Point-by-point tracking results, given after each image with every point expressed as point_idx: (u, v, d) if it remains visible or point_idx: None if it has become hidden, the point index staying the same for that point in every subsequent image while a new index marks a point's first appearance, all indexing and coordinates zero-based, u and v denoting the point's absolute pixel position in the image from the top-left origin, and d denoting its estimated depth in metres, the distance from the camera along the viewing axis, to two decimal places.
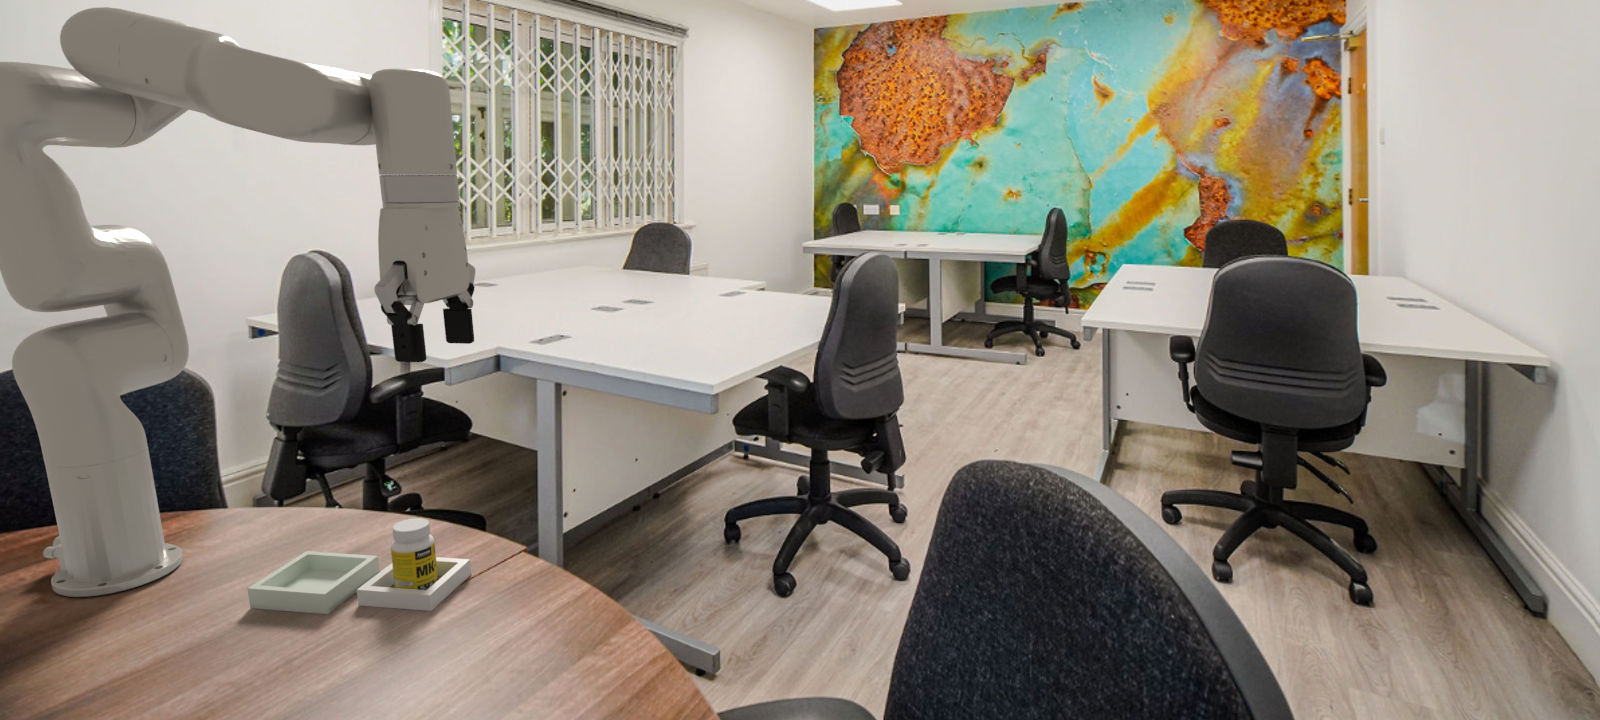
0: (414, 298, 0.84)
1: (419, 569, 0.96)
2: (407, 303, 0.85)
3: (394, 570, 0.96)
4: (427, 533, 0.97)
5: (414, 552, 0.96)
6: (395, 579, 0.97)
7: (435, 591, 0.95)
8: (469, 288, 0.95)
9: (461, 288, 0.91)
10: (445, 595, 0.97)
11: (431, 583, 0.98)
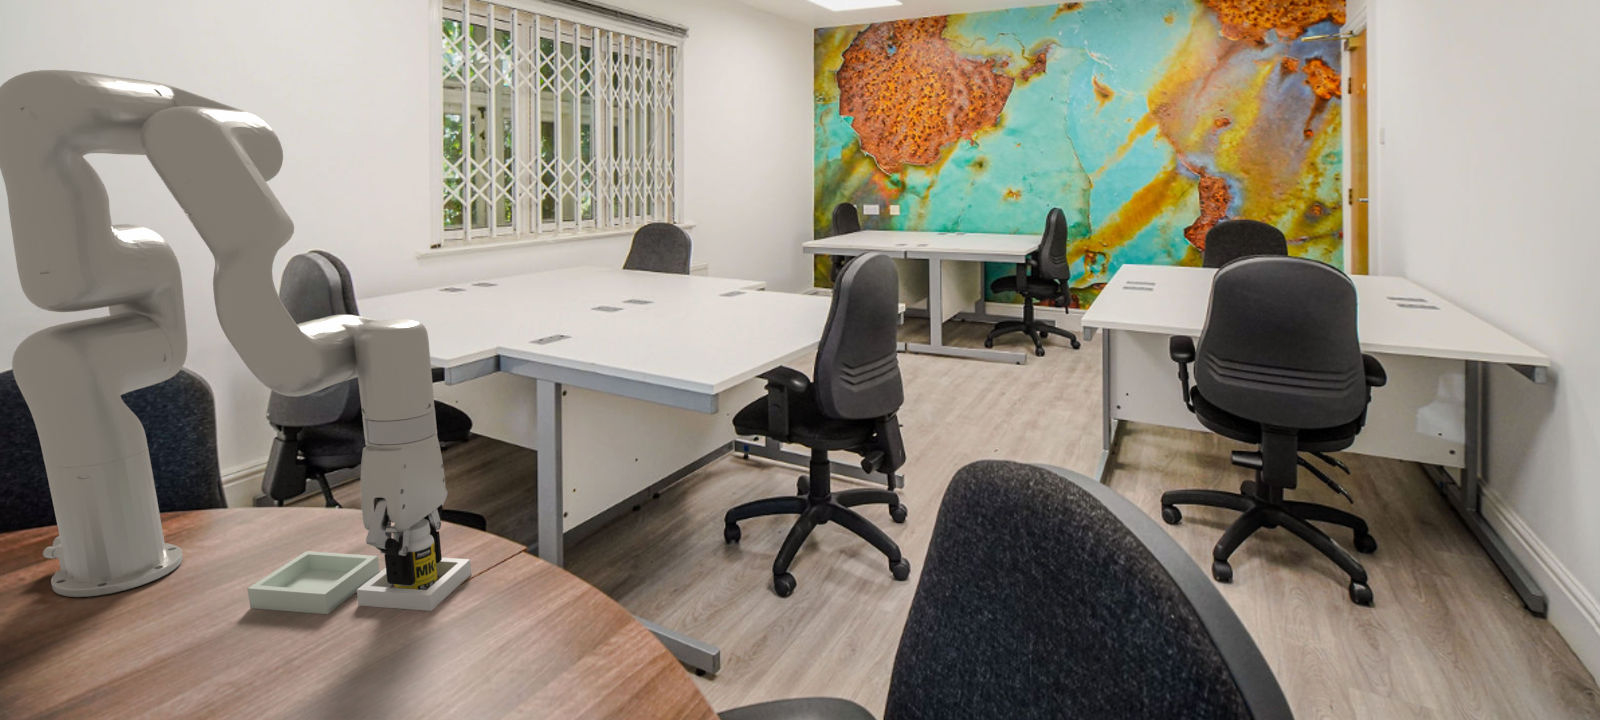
0: (400, 532, 0.93)
1: (418, 569, 0.96)
2: None
3: None
4: (427, 533, 0.97)
5: (414, 552, 0.96)
6: None
7: (435, 591, 0.95)
8: (437, 510, 1.01)
9: (438, 504, 0.99)
10: (445, 595, 0.97)
11: (431, 582, 0.98)
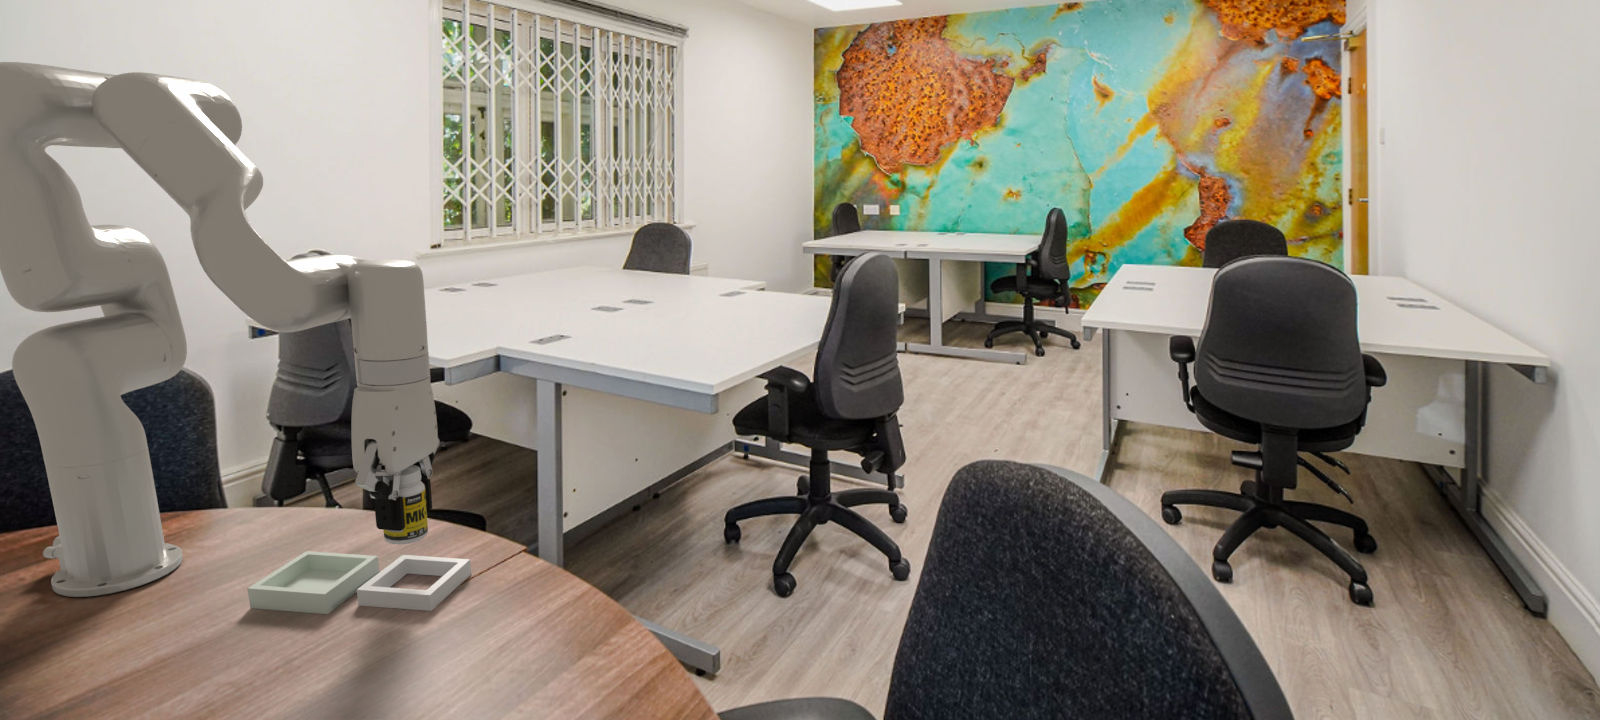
0: (390, 476, 0.92)
1: (408, 515, 0.95)
2: None
3: None
4: (418, 479, 0.95)
5: (404, 498, 0.94)
6: None
7: (435, 591, 0.95)
8: (429, 458, 1.00)
9: (429, 450, 0.97)
10: (445, 595, 0.97)
11: (421, 530, 0.96)
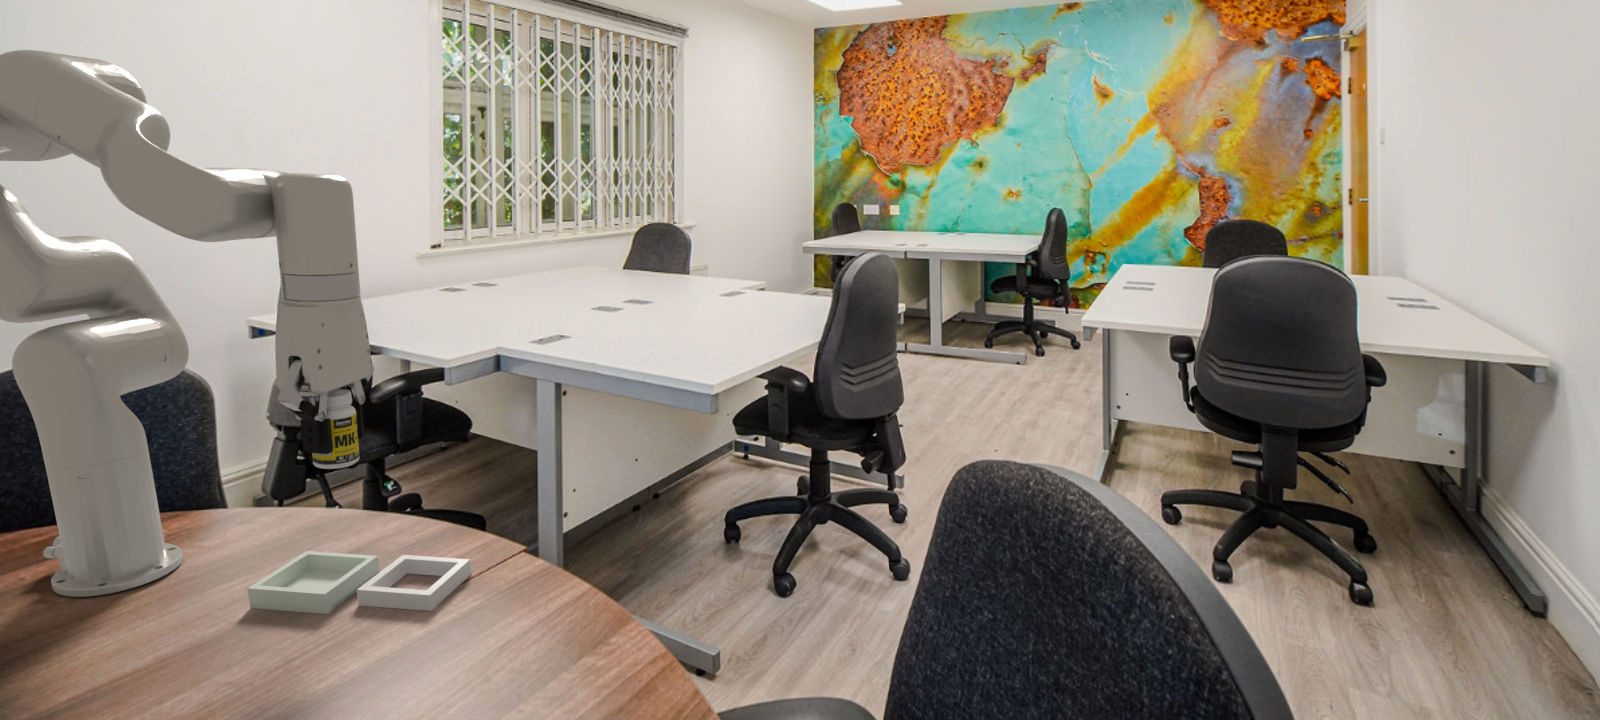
0: (316, 396, 0.89)
1: (337, 438, 0.92)
2: None
3: None
4: (348, 402, 0.93)
5: (333, 420, 0.92)
6: None
7: (435, 591, 0.95)
8: (362, 384, 0.97)
9: (361, 375, 0.95)
10: (445, 595, 0.97)
11: (351, 455, 0.94)
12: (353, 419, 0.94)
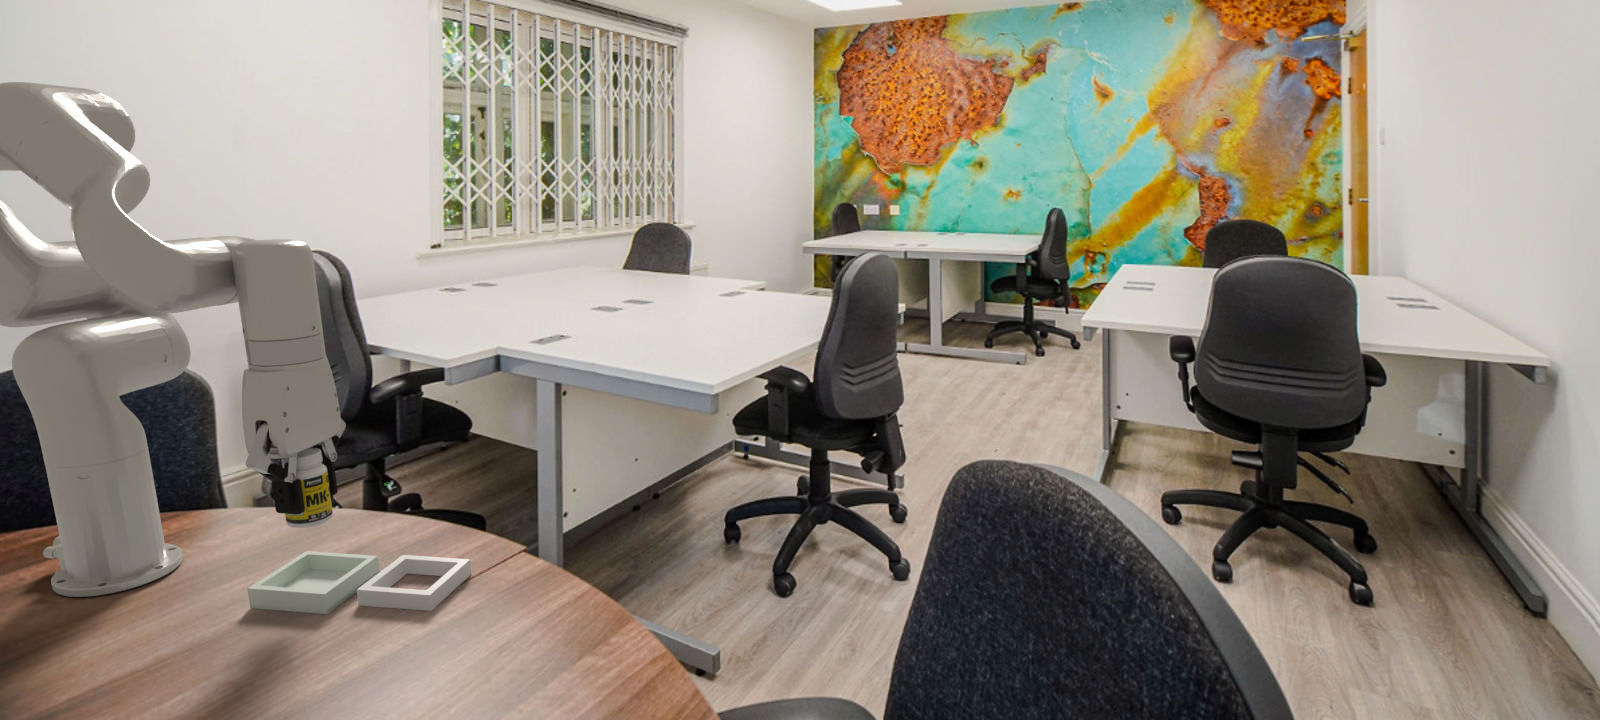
0: (285, 458, 0.91)
1: (308, 497, 0.94)
2: None
3: None
4: (318, 461, 0.94)
5: (303, 480, 0.93)
6: None
7: (435, 591, 0.95)
8: (333, 441, 0.99)
9: (331, 433, 0.96)
10: (445, 595, 0.97)
11: (324, 513, 0.95)
12: (324, 477, 0.95)
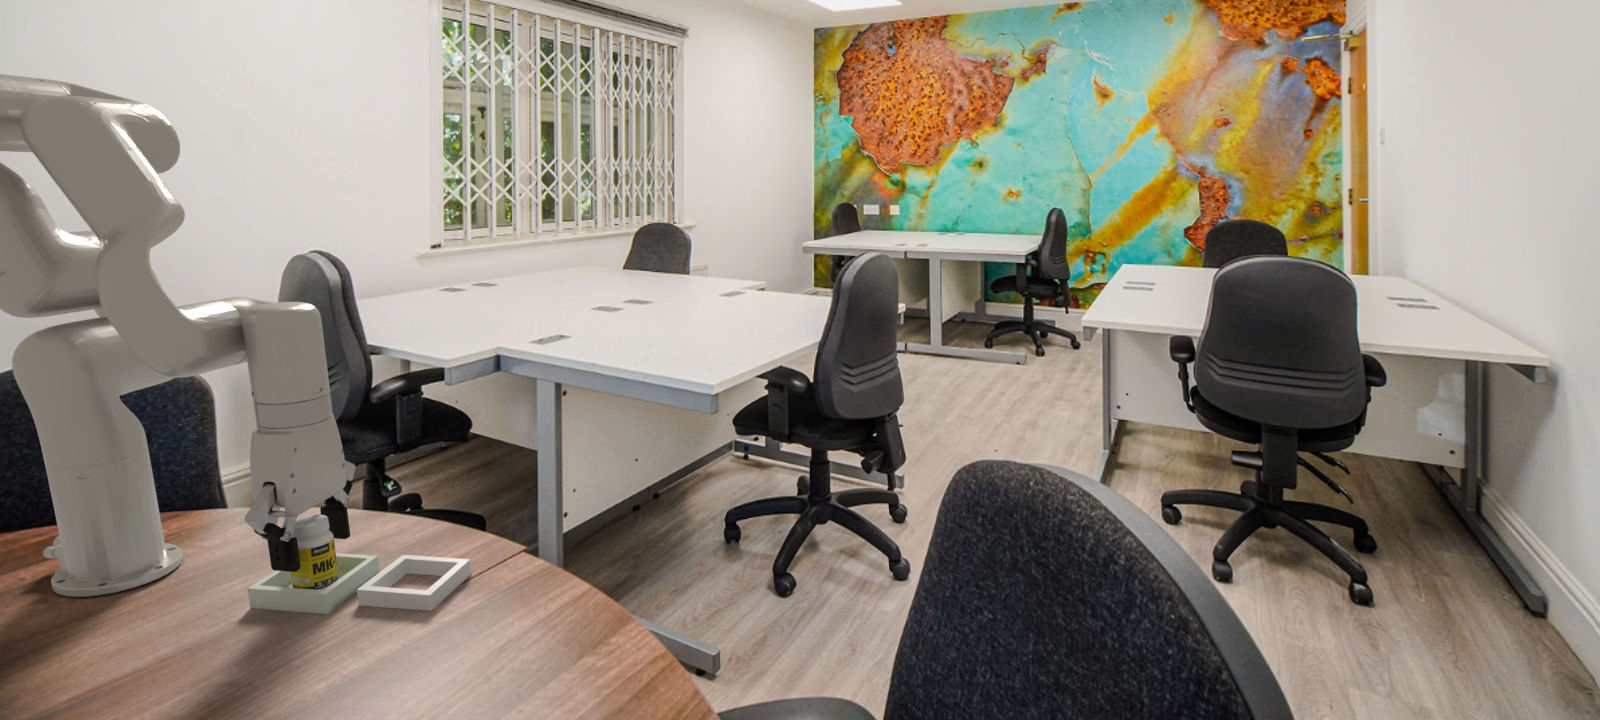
0: (286, 515, 0.91)
1: (315, 565, 0.96)
2: (281, 517, 0.92)
3: None
4: (325, 529, 0.96)
5: (310, 549, 0.95)
6: (292, 576, 0.96)
7: (435, 591, 0.95)
8: (346, 486, 1.01)
9: (336, 489, 0.98)
10: (445, 595, 0.97)
11: (330, 579, 0.97)
12: (330, 545, 0.97)
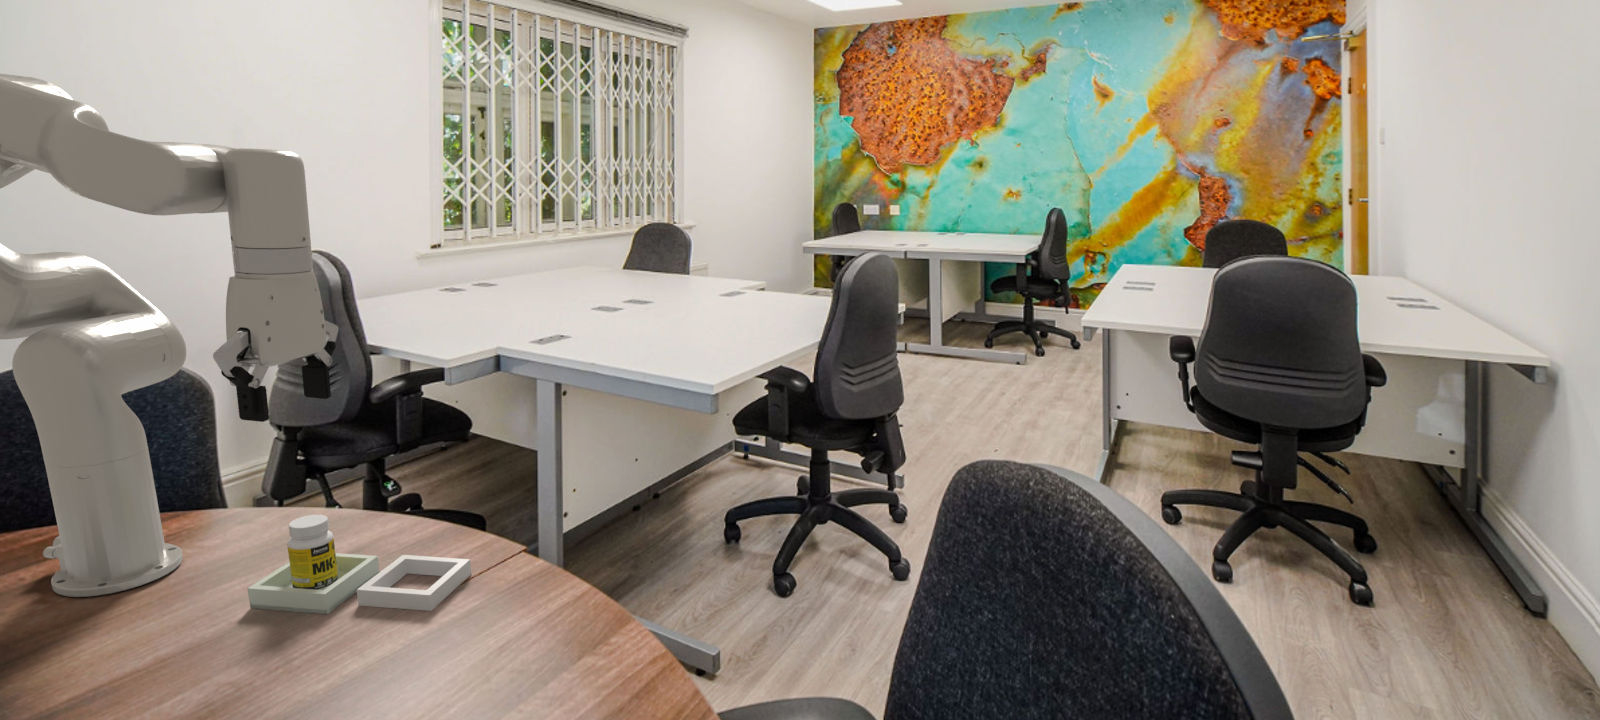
0: (258, 362, 0.90)
1: (315, 566, 0.96)
2: (252, 366, 0.90)
3: (291, 567, 0.96)
4: (324, 530, 0.96)
5: (310, 549, 0.95)
6: (291, 576, 0.96)
7: (435, 591, 0.95)
8: (329, 346, 1.01)
9: (315, 349, 0.97)
10: (445, 595, 0.97)
11: (330, 579, 0.97)
12: (330, 545, 0.97)
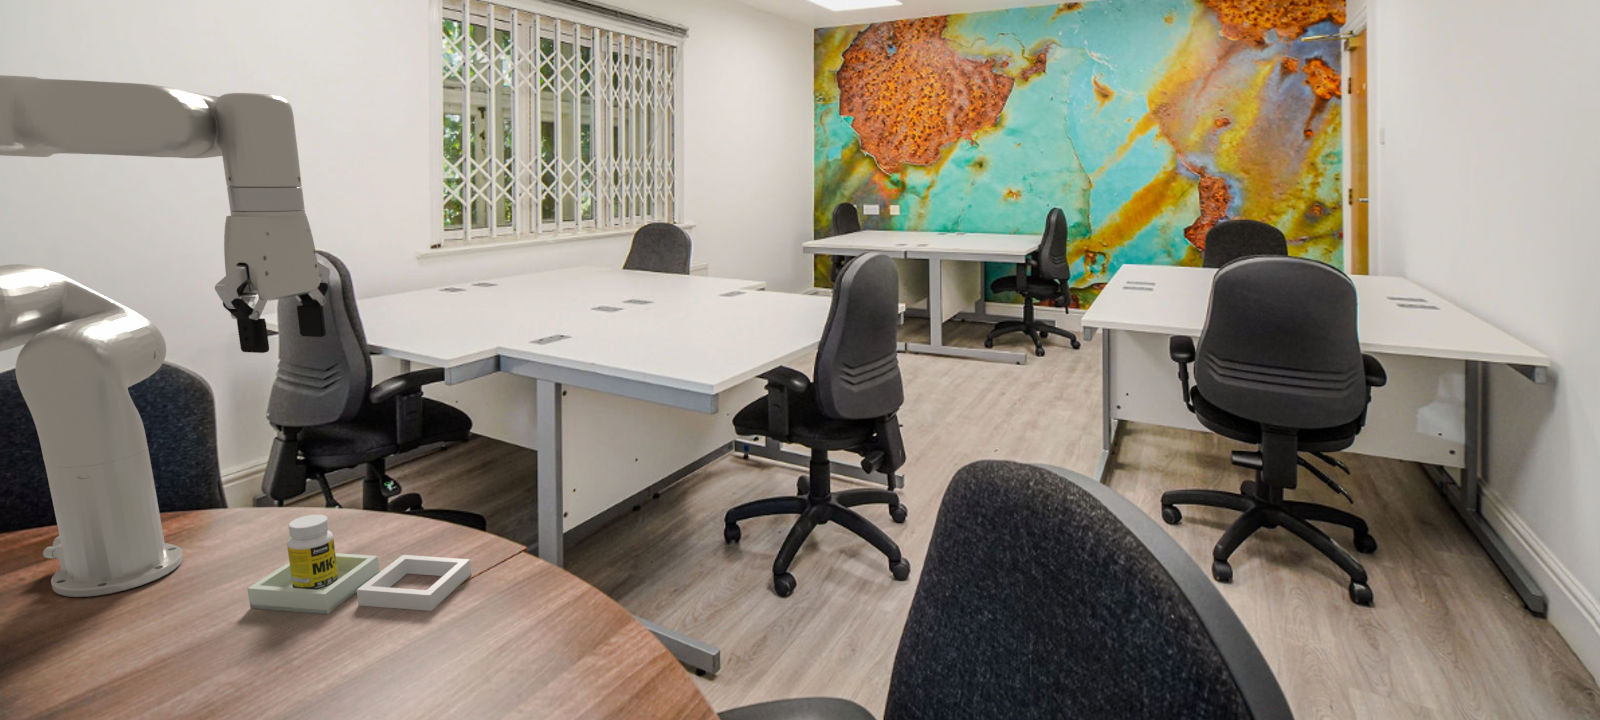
0: (256, 296, 0.95)
1: (315, 565, 0.96)
2: (251, 300, 0.96)
3: (291, 567, 0.96)
4: (324, 529, 0.96)
5: (310, 549, 0.95)
6: (291, 576, 0.96)
7: (435, 591, 0.95)
8: (322, 287, 1.06)
9: (309, 287, 1.02)
10: (445, 595, 0.97)
11: (330, 579, 0.97)
12: (330, 545, 0.97)
